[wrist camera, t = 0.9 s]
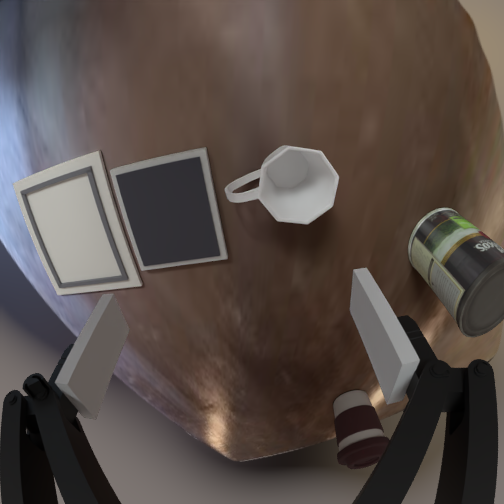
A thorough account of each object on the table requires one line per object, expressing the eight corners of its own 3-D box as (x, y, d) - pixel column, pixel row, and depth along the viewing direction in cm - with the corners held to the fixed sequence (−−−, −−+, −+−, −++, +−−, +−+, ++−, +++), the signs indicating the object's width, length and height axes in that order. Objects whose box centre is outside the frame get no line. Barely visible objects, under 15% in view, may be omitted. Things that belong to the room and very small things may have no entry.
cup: (323, 187, 32) (345, 214, 25) (237, 210, 34) (235, 244, 26) (309, 126, 29) (331, 136, 22) (217, 151, 30) (209, 168, 23)
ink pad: (113, 168, 30) (108, 171, 29) (206, 147, 30) (204, 148, 29) (143, 266, 37) (140, 272, 36) (227, 254, 36) (227, 260, 35)
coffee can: (425, 197, 33) (495, 251, 21) (473, 218, 34) (535, 269, 22) (395, 266, 38) (444, 336, 25) (444, 277, 39) (492, 338, 27)
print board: (15, 182, 30) (11, 184, 29) (100, 149, 29) (96, 151, 28) (59, 292, 39) (56, 296, 38) (142, 283, 38) (140, 287, 37)
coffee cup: (326, 391, 51) (341, 460, 38) (375, 379, 50) (398, 444, 37) (326, 415, 56) (338, 476, 42) (370, 405, 55) (387, 463, 42)
